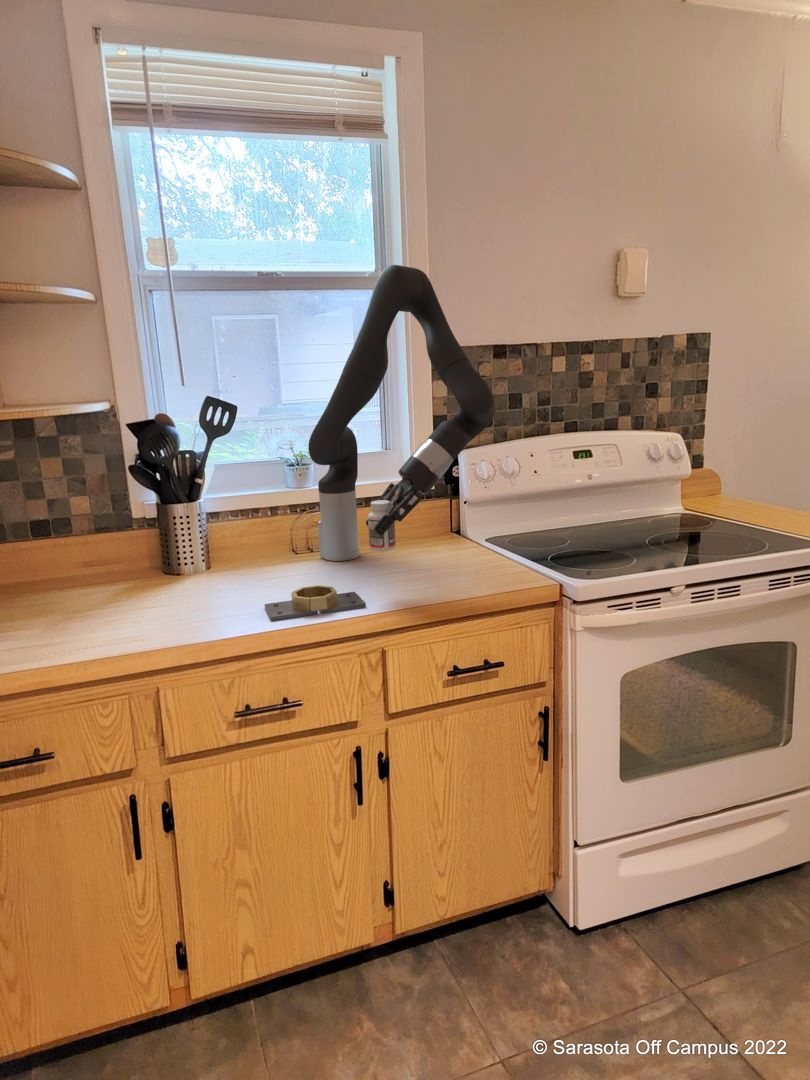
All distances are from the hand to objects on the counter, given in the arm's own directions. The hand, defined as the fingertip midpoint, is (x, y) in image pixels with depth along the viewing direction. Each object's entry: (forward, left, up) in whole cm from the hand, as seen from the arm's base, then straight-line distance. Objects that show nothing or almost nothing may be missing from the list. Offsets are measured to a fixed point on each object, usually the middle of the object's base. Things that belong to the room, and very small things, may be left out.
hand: (373, 529), depth 147 cm
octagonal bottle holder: (-9, -10, -15) cm, 20 cm away
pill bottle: (+1, +1, -5) cm, 5 cm away
